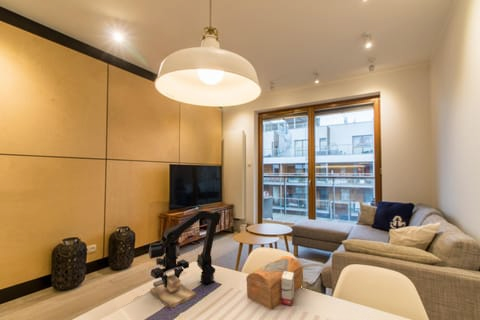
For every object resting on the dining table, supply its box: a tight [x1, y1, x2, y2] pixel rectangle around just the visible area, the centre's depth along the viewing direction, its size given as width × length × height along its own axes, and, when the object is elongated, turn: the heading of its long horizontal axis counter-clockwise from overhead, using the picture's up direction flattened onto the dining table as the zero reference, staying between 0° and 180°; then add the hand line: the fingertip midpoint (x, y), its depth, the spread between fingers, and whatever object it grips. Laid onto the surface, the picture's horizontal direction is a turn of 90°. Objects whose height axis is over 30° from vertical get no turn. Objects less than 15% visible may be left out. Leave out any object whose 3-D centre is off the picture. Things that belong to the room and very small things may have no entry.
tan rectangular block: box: [164, 273, 181, 293], centre depth 118 cm, size 5×7×5 cm
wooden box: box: [245, 256, 304, 310], centre depth 120 cm, size 30×16×14 cm, turn 137°
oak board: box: [150, 282, 197, 309], centre depth 117 cm, size 14×20×2 cm
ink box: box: [281, 271, 295, 306], centre depth 111 cm, size 9×5×12 cm, turn 159°
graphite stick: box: [152, 279, 162, 288], centre depth 127 cm, size 6×2×2 cm
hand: (170, 285), depth 119 cm, fingers closed on tan rectangular block, 5 cm apart
